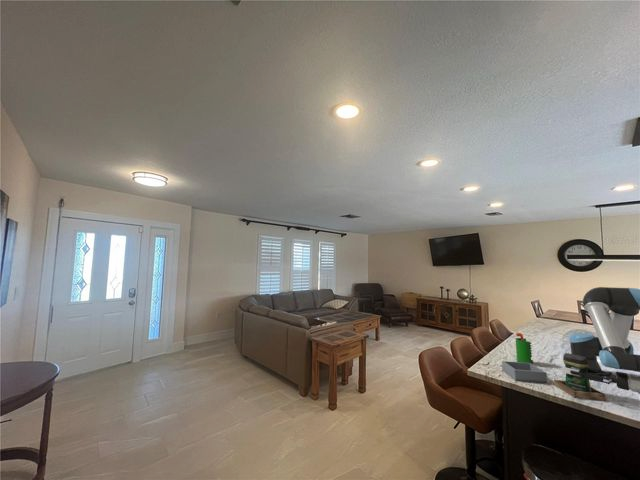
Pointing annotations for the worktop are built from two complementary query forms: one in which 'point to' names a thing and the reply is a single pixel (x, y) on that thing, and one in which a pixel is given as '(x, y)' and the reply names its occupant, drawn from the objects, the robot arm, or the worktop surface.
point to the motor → (523, 350)
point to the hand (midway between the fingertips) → (564, 367)
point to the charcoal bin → (524, 372)
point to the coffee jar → (573, 380)
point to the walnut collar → (578, 394)
